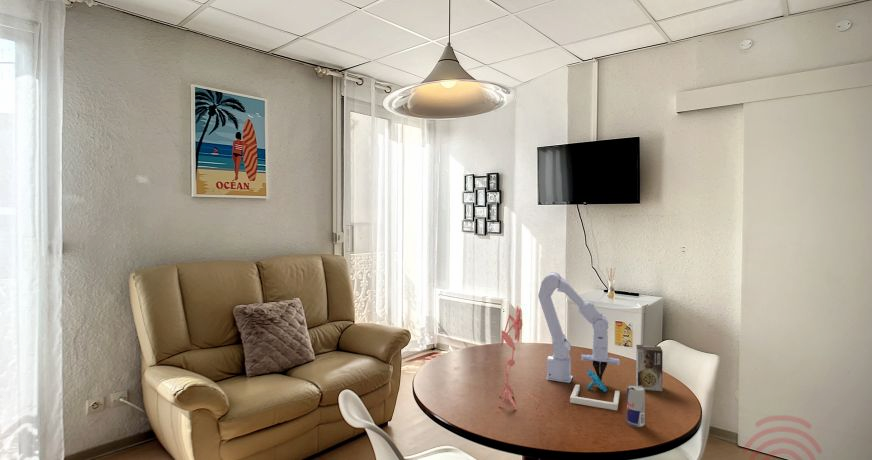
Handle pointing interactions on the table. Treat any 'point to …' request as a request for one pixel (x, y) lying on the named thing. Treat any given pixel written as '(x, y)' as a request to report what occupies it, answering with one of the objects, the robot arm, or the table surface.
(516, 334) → the figurine
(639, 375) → the coffee box
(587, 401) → the bracket
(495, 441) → the table surface
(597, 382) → the gear
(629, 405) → the energy drink
